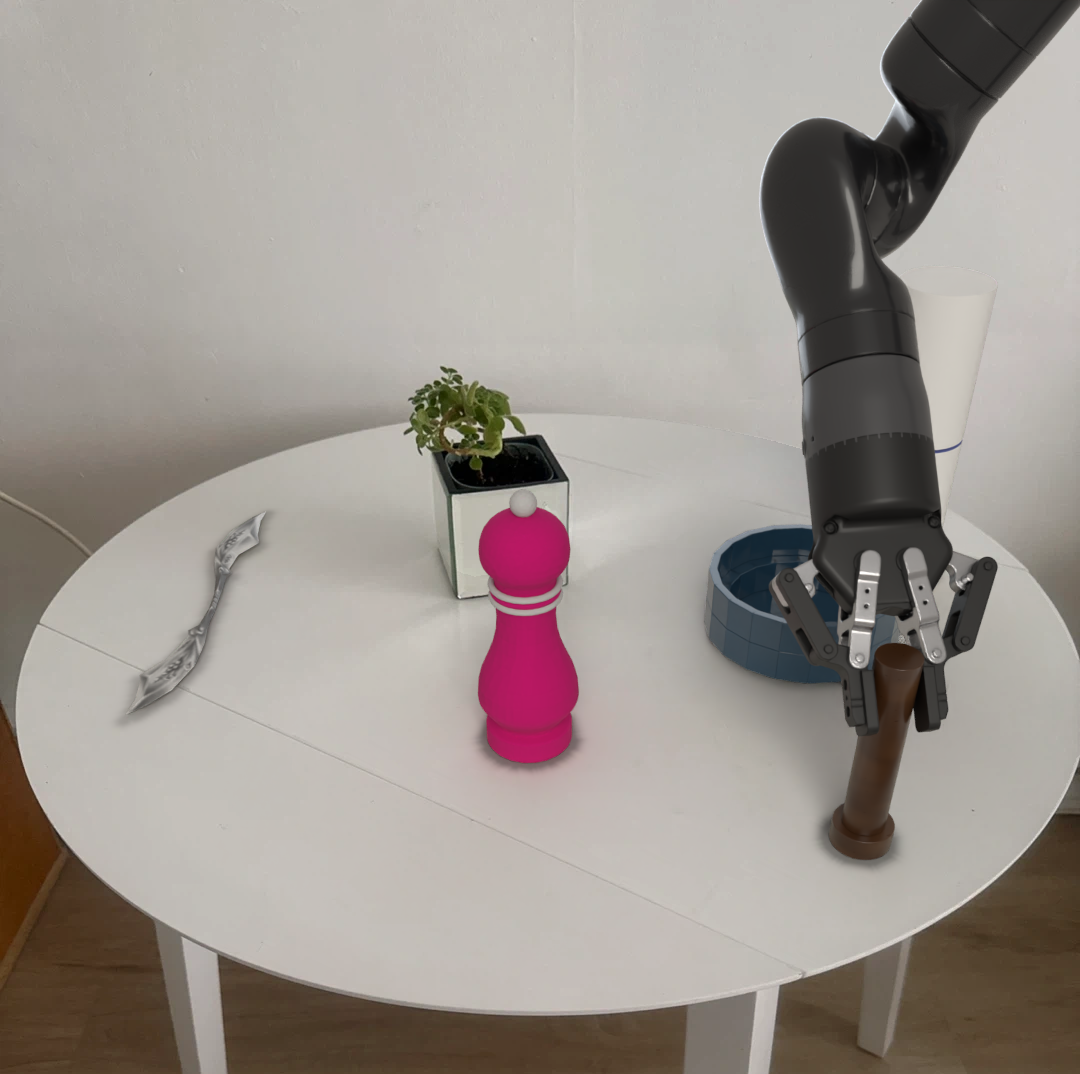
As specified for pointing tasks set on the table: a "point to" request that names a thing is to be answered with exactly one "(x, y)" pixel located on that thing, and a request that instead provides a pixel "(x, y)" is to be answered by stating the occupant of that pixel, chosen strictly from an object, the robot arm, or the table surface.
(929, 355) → the cylindrical container
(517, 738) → the pepper mill
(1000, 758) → the table surface
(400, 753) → the table surface
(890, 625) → the bowl
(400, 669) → the table surface
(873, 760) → the brown flanged cylinder
